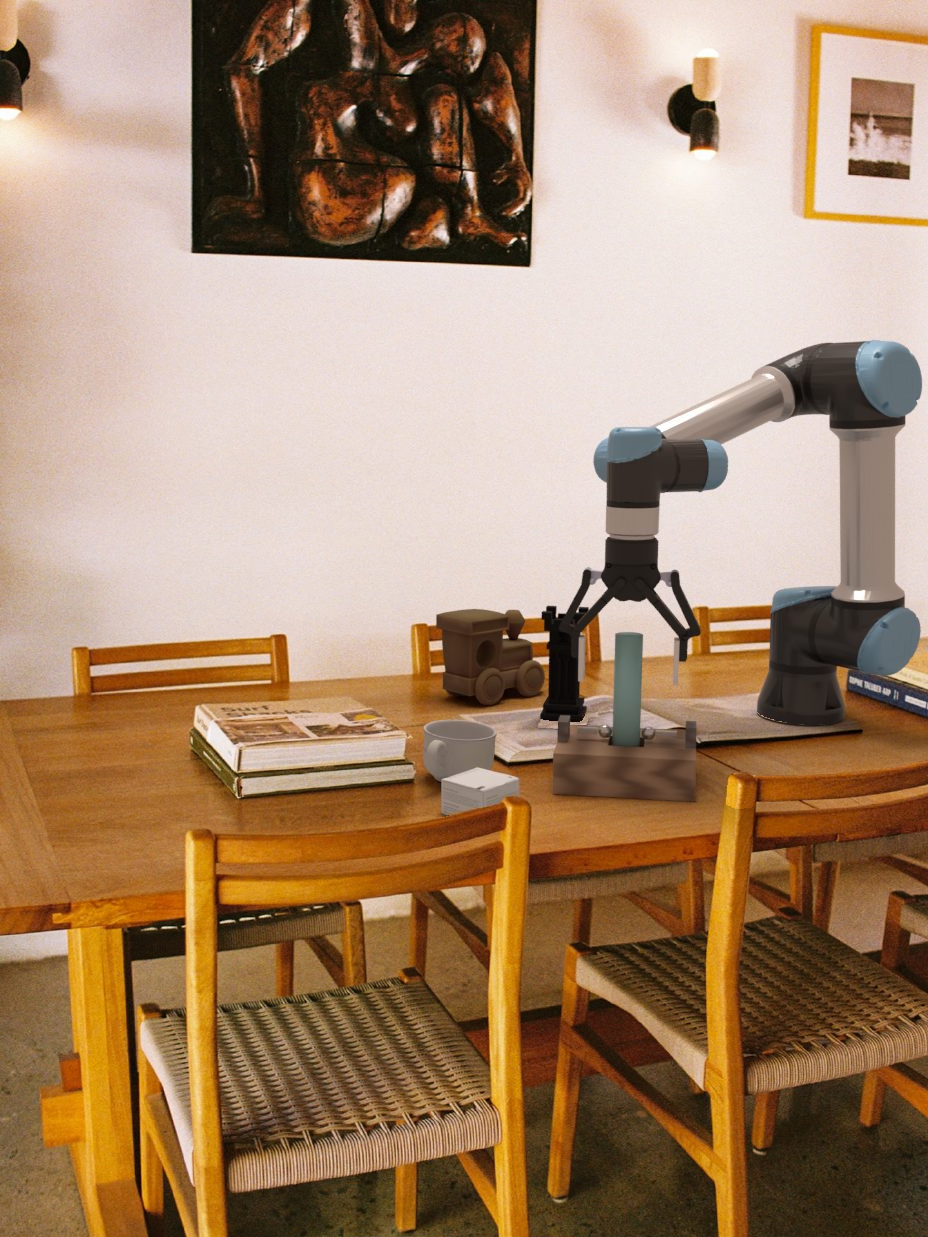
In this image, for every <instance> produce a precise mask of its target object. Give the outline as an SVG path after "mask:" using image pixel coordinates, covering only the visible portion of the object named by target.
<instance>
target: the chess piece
mask: <svg viewBox="0 0 928 1237" xmlns="http://www.w3.org/2000/svg"><path fill="white" fill-rule="evenodd" d="M557 607H558V606H557V605H547V606H546V607H545V610H543V611H541V620H543V631H544V632H549V633H548V634H549V635H548V639H549V641H548V642H547V643H546V644H545V645H546V650H548V695H547V697H546V698H545V701H544V702H543V703H542V710H541V711H540V712H541V713H540V714H539V720H540V719H543V720H549V721H558V720H559V717H560V715H567V716H570V722H580V721H582V720H583V718H584V716H585V714H586V713H587V710H588V708H587V705H584V703H585V697H580V688H581V687H580V683H581V682H580V681H578V659H579V658H572V656H571V636H570V635H569V634H568V633H566V632H561V631H560V630H559V625H560V624H561V622H562V620H563V618H564V616H565V614H566V612H565V613H562V612H561V613H560V612H558V613H557ZM589 609H590V607H589V606H579V608H578V609H577V611H578V612H577V611H576V613H575V615H574V617H573V619H572V621H571V623H570V624H573V625H576V624H577V623H578V621H579V620H580V619H581V618H582V617H583V616H584V615H585V614H586V613H587V612H588V610H589ZM580 634H582V632H581V633H580Z"/></svg>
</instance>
